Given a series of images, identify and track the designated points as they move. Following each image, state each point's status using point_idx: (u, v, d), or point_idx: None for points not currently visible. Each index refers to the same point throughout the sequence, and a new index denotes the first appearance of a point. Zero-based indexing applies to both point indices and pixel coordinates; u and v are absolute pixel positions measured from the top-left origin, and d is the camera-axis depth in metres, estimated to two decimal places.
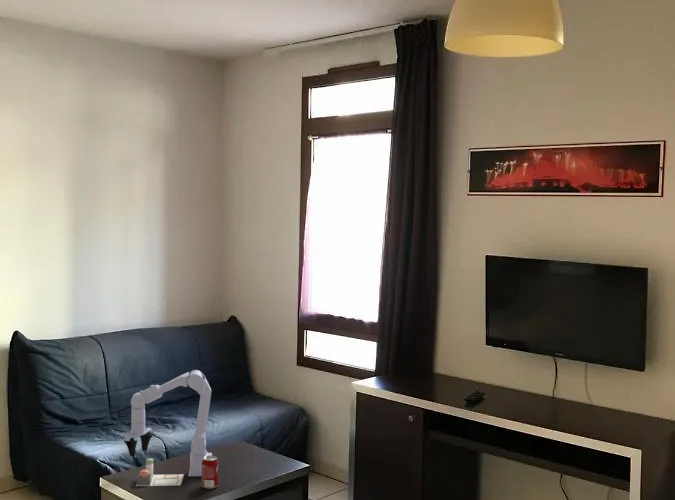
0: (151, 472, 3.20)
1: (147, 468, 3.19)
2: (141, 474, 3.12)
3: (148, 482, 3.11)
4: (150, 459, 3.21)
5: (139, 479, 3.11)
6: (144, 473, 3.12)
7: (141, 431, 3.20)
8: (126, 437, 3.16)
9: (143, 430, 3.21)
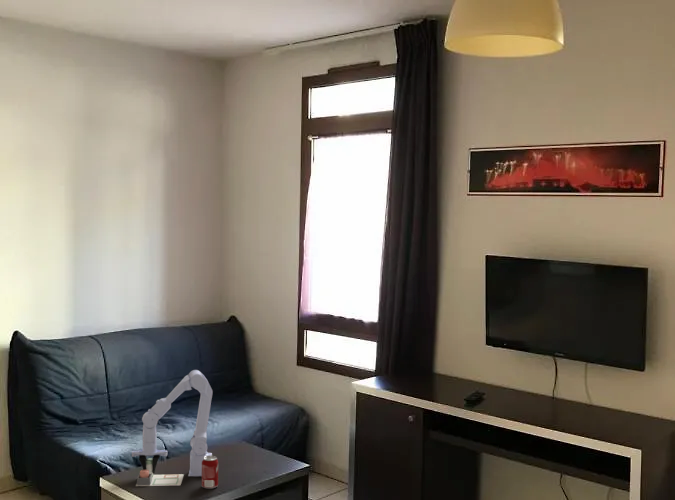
0: (151, 472, 3.20)
1: (147, 468, 3.19)
2: (141, 474, 3.12)
3: (148, 482, 3.11)
4: (150, 459, 3.21)
5: (139, 479, 3.11)
6: (144, 473, 3.12)
7: (146, 451, 3.18)
8: (132, 452, 3.20)
9: (148, 451, 3.17)
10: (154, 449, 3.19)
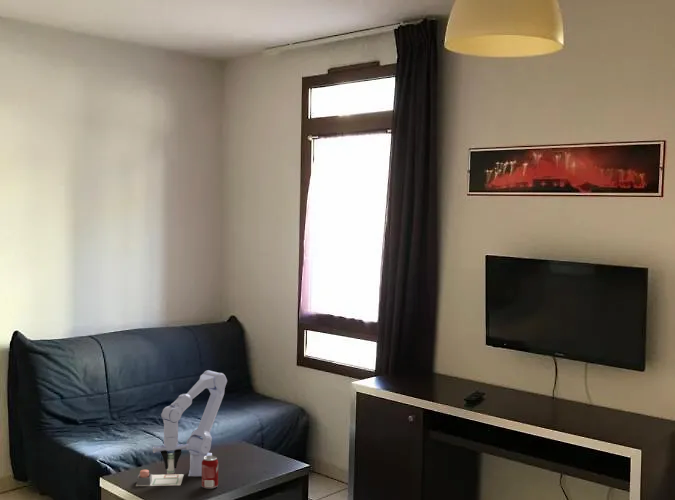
0: (173, 467, 3.15)
1: (169, 463, 3.14)
2: (141, 474, 3.12)
3: (148, 482, 3.11)
4: (171, 454, 3.16)
5: (139, 479, 3.11)
6: (144, 473, 3.12)
7: (169, 446, 3.13)
8: None
9: (171, 445, 3.13)
10: (176, 443, 3.15)
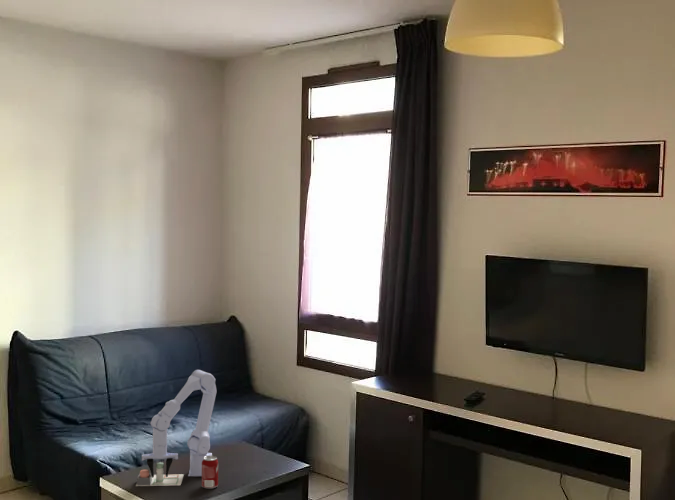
0: (162, 476, 3.15)
1: (158, 472, 3.14)
2: (141, 474, 3.12)
3: (148, 482, 3.11)
4: (160, 463, 3.16)
5: (139, 479, 3.11)
6: (144, 473, 3.12)
7: (156, 454, 3.12)
8: None
9: (159, 454, 3.12)
10: (165, 452, 3.14)
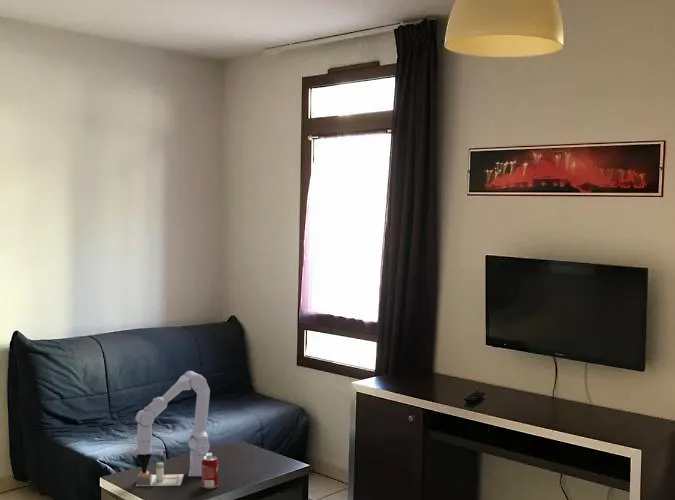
0: (162, 476, 3.15)
1: (158, 472, 3.14)
2: (141, 475, 3.12)
3: (148, 482, 3.11)
4: (160, 463, 3.15)
5: (139, 479, 3.11)
6: (144, 474, 3.12)
7: (140, 450, 3.10)
8: None
9: (143, 450, 3.10)
10: (149, 448, 3.12)
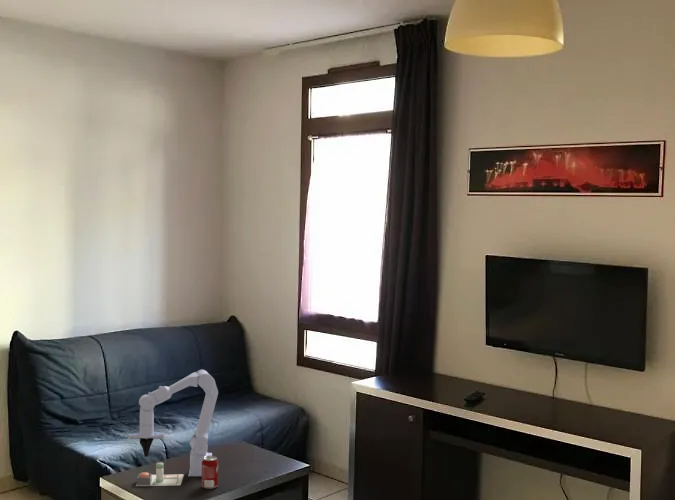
0: (162, 476, 3.15)
1: (158, 472, 3.14)
2: (141, 477, 3.12)
3: (148, 482, 3.11)
4: (160, 463, 3.15)
5: (139, 479, 3.11)
6: (144, 475, 3.12)
7: (143, 434, 3.16)
8: None
9: (145, 433, 3.15)
10: (151, 432, 3.17)
